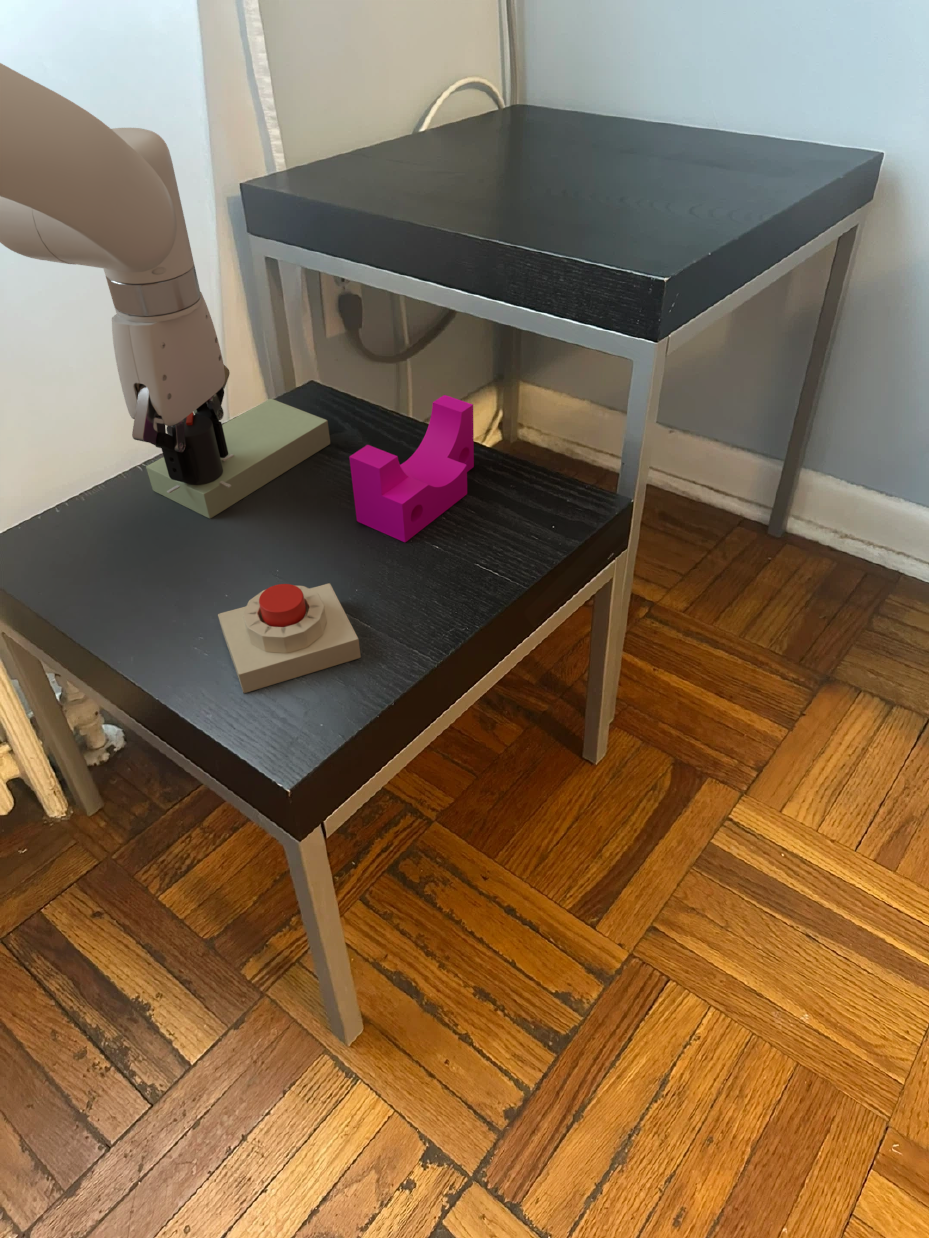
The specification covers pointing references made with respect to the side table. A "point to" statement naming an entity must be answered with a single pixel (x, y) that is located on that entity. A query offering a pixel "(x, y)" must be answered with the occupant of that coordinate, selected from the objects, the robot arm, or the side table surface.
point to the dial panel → (249, 456)
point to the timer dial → (202, 447)
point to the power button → (282, 605)
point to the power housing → (289, 640)
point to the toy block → (416, 474)
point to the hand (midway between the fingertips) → (199, 465)
